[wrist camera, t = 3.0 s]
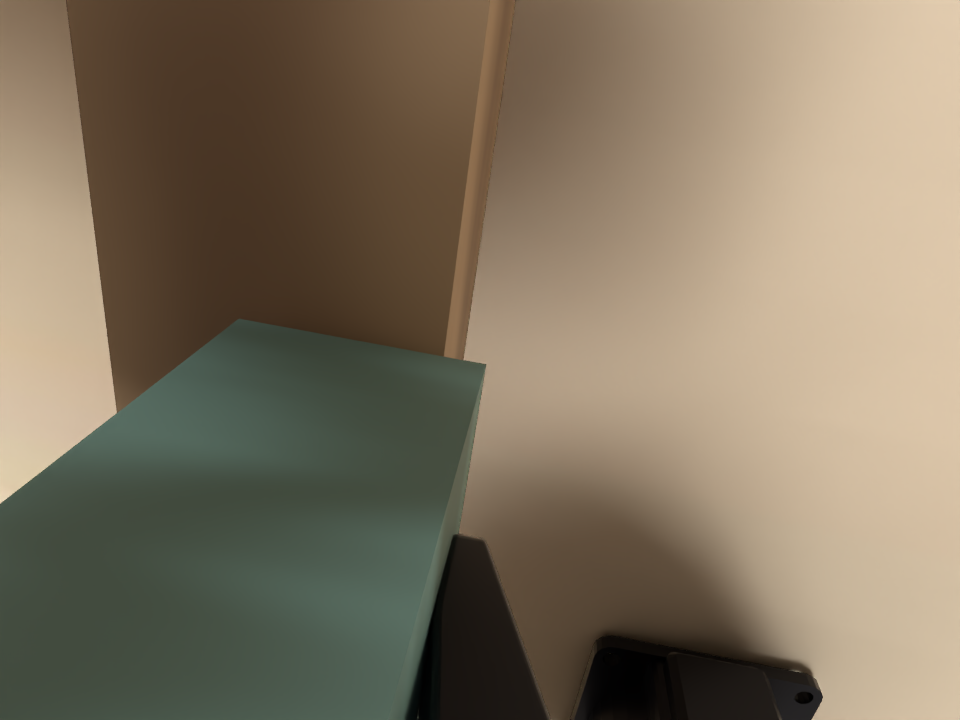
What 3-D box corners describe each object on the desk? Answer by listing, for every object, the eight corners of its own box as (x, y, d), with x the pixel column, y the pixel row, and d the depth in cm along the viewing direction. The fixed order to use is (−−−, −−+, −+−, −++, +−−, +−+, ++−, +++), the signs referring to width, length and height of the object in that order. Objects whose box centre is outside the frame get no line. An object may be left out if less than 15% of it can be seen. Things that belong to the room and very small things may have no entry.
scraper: (564, -43, 9) (521, -955, 1) (446, 646, 15) (305, 1322, 7) (197, -98, 9) (-2270, -1157, 1) (227, 600, 15) (-154, 1199, 7)
